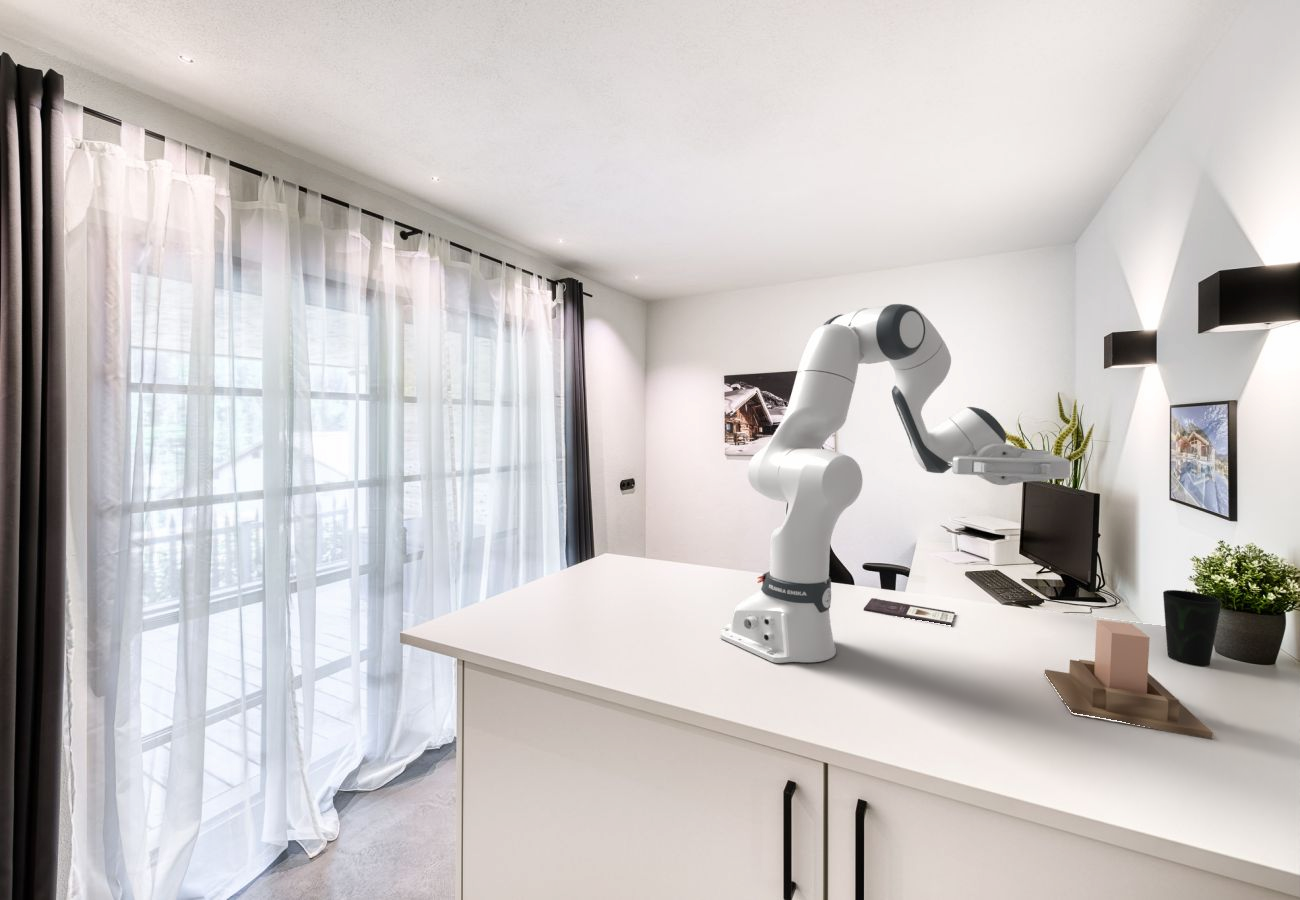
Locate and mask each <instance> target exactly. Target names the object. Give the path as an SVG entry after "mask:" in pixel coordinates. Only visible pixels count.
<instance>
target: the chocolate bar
mask: <svg viewBox="0 0 1300 900" xmlns="http://www.w3.org/2000/svg"><path fill="white" fill-rule="evenodd" d="M863 611H865V612H869V613H875V614H881V615H886V616H891V617H895V616H897V618H901V617H904V618H903V619H906V618H910V619H909V620H912V619H915V620H914V621H917V620H922V621H929V622H934V623H940V624H946V625H952V626H953V623H952V621H953V622H954V619H953V618H955V615H954V614H956V613H955V612H954V611H950V610H945V609H938V608H932V607H925V606H920V605H914V604H908V603H902V602H896V601H891V600H886V599H885V600H884V599H881V598H880V599H878V598H873V597H871V598H870V600H869V601H868V603H867V604H866V605H865V606H864V608H863ZM922 621H921V622H922Z"/></svg>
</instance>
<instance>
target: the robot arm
mask: <svg viewBox="0 0 1300 900" xmlns="http://www.w3.org/2000/svg"><path fill="white" fill-rule="evenodd" d="M884 362H889V363H890V364H889V365H891V367H892V369H893V371H894V374H895V382H894V385H893V387H892V389H891V396H892V399H893V403H894V406H895V410H896V411H897V415H898V416H899V419H900V421H901V423H902V426H903V428H904V431H905V432H906V436H907V439H908V440H909V444H910V447H911V449H912V454H913V456H914V458H915V461H916V462H917V463H918V465H919V466H920V467H921V468H922V469H923V470H924V471H926V472H928V473H933V474H944V473H946V472H947V471H948V470H950V469H951V470H952V471H951V472H952V473H953V474H955V475H963V476H964V475H969V476H978V477H979V478H981V479H982V480H984V481H987V482H988V483H991V484H993V485H997V486H1008V485H1012V484H1019V483H1031V482H1048V481H1049V480H1059V479H1060V480H1063V479H1064V480H1065V479H1068V478H1069V477H1070V473H1071V472H1070V471H1071V462H1070V460H1069V459H1068V458H1065V457H1063V456H1060V455H1055V454H1051V452H1050V451H1049V450H1042V449H1029V448H1022V447H1018V446H1014V445H1010V444H1006V443H1007V434H1006V431H1005V429H1004V428H1003V426H1002V425H1001V423H1000V422H999V421H998V420H997V419H996V417H994V416H993V415H992V414H991V413H989V412H988V411H987V410H985V409H982V408H978V407H975V406H966V407H965V408H964V409H962V410H960V411H958V412H957V413H955V414H953V415H952V416H951V417H949V418H948V419H946V420H944V421H943V422H941V423H940V424H938V425H937V426H935V427H933V428H932V429H930V430H928V429H927V426H926V424H925V421H924V419H923V417H922V410H923V407H924V406H925V404H926V402H927V401H928V400H929V398H930V397H931V396H932V395H933V393H934V392H935V391H936V390H937V389H938V388H939V387H940V386H941V385H942V383H943V382H945V379H946V378H947V376H948V374H949V372H950V369H951V365H952V356H951V353H950V351H949V348H948V346H947V343H945V341H944V339H943V337H942V336H941V335H940V333H939V331H938V330H937V328H936V327H935V326H934V325H933V324H932V322H931V321H930V320H929V319H928V318H927V317H926V316H925V314H923V313H922V312H921V311H920V310H919V309H918V308H916V307H915V306H913V305H909V304H903V303H894V304H889V305H885V306H875V307H869V308H868V307H867V308H861V309H857V310H853V311H851V312H850V311H849V312H847V313H845V314H837V315H835V316H834V317H831V318H830V319H828V320H827V321H825V322H824V323H823V324H822V325H821V326H820V327H817V328H816V329H815V330H814V331H813V333H812V334H811V336H810V337H809V340H808V341H807V344H806V346H805V348H804V351H803V353H802V356H801V359H800V361H799V364H798V369H797V372H796V376H795V379H794V383H793V386H792V391H791V395H790V397H789V400H788V405H787V408H786V410H785V413H784V414H783V416H782V419H781V421H780V423H779V425H778V427H777V428H776V430H775V431H774V433H773V435H772V436H771V438H770V439H769V440H768V442H767V443H766V444H765V446H763V447H762V448H761V449H760V450H758V451H757V452H756V453H754V455H753V456H752V457H751V459H750V461H749V463H748V466H747V478H748V481H749V484H750V486H751V487H752V488H753V489H754V490H755V491H756V492H757V493H760V494H761V495H763V496H764V497H767V498H768V499H771V500H774V501H779V502H783V503H787V511H786V515H785V517H784V520H783V521H782V524H781V525H779V526H778V527H776V528H775V529H774V530H773V531H772V532H771V534H770V540H769V571H767V572H765V573H763V574H762V575H761V576H757V583H758V584H760V583H762V585H761V588H760V589H759V590H757V591H755V593H753V594H751V595H750V596H749V597H747V598H745V599H743V600H742V601H740V603H738V604H737V605H736V607H735V608H734V611H733V615H732V620H731V622H730V623H728V624H726V625H725V626H723V628H722V629H721V631H720V633H719V634H720V636H719V637H720V638H719V639H721V640H724V641H725V642H727V643H730V644H731V645H735V646H737V647H739V648H742V650H745V651H747V652H749V653H752V654H754V655H755V656H759V657H761V658H763V659H765V660H767V661H769V662H772V663H775V664H784V663H794V662H795V663H817V662H818V663H819V662H824V661H828V660H830V659H832V658H834V656H835V655H836V654H837V648H836V644H835V640H834V637H833V632H832V631H833V630H832V625H831V618H830V617H831V616H830V615H831V614H830V609H831V602H832V578H831V577H830V576H829V575H830V554H831V552H830V551H831V541H832V536H833V532H834V529H835V526H836V524H837V522H838V520H839V518H840V516H841V515H842V513H843V512H844V511H845V510H846V509H847V508H848V507H850V506H852V505H853V504H854V503H855V502H856V500H857V499H858V497H859V496H860V494H861V491H862V487H863V473H862V470H861V467H860V465H859V464H858V462H857V460H855V459H854V458H852V457H851V456H849V455H847V454H844V453H841V452H837V451H835V450H833V449H826V448H822V447H823V446H824V444H825V443H826V441H828V439H829V438H830V437H831V436H832V435H833V434H835V433H837V431H839V430H840V429H841V428H842V427H843V426H844V424H845V423H846V421H847V416H848V413H849V409H850V404H851V401H852V397H853V392H854V388H855V384H856V381H857V377H858V375H857V374H858V370H859V364H860V365H861V364H865V365H866V364H867V365H871V364H877V363H884Z"/></svg>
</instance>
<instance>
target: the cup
mask: <svg viewBox="0 0 1300 900" xmlns="http://www.w3.org/2000/svg"><path fill="white" fill-rule="evenodd" d="M1162 594H1163V596H1162V597H1163V608H1164V609H1163V611H1164V624H1165V637H1166V639H1165V640H1166V649H1167V651H1166V653H1167V657H1168V658H1169V659H1171V660H1173V661H1175V662H1178V663H1181V664H1185V665H1190V666H1195V667H1209V666H1210V664H1211V659H1212V653H1213V650H1214V646H1215V645H1214V643H1215V639H1216V634H1217V628H1218V624H1219V623H1218V622H1219V618H1220V613H1221V608H1222V603H1223V601H1222V600H1221V599H1220V598H1217V597H1215V596H1212V595H1208V594H1204V593H1198V592H1194V591H1187V590H1179V589H1169V590H1168V589H1167V590H1164V591H1163V592H1162Z"/></svg>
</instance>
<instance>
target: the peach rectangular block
mask: <svg viewBox="0 0 1300 900" xmlns="http://www.w3.org/2000/svg"><path fill="white" fill-rule="evenodd" d="M1095 628H1096V630H1095V648H1094V649H1095V651H1094V661H1095V668H1094V677H1095V678H1096V679H1097V680H1098V681H1099V682H1100V684H1101V685H1102V686H1103V687H1106V688H1112V689H1119V690H1125V691H1132V692H1138V693H1145V694H1147V678H1148V673H1149V659H1150V657H1149V656H1150V655H1149V654H1150V636H1149V635H1147V634H1146V633H1144V632H1143V631H1142V630H1140V629H1139V628H1138V627H1137V626H1136V625H1134V624H1133V623H1129V622H1119V621H1112V620H1111V621H1110V620H1103V619H1102V620H1101V619H1096V627H1095Z"/></svg>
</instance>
